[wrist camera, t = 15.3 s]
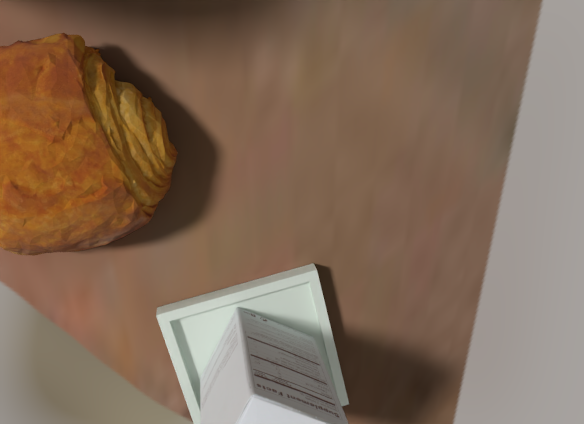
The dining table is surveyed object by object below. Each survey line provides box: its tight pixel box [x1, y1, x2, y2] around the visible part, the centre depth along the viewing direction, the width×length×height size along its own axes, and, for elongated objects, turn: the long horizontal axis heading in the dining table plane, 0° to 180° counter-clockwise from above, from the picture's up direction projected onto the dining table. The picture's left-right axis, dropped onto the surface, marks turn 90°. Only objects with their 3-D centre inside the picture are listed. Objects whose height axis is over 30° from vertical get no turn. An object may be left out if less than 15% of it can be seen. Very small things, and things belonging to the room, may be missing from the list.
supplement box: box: [200, 307, 348, 424], centre depth 40 cm, size 7×7×13 cm
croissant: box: [0, 33, 178, 255], centre depth 37 cm, size 14×16×8 cm
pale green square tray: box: [156, 263, 349, 424], centre depth 46 cm, size 13×13×1 cm
